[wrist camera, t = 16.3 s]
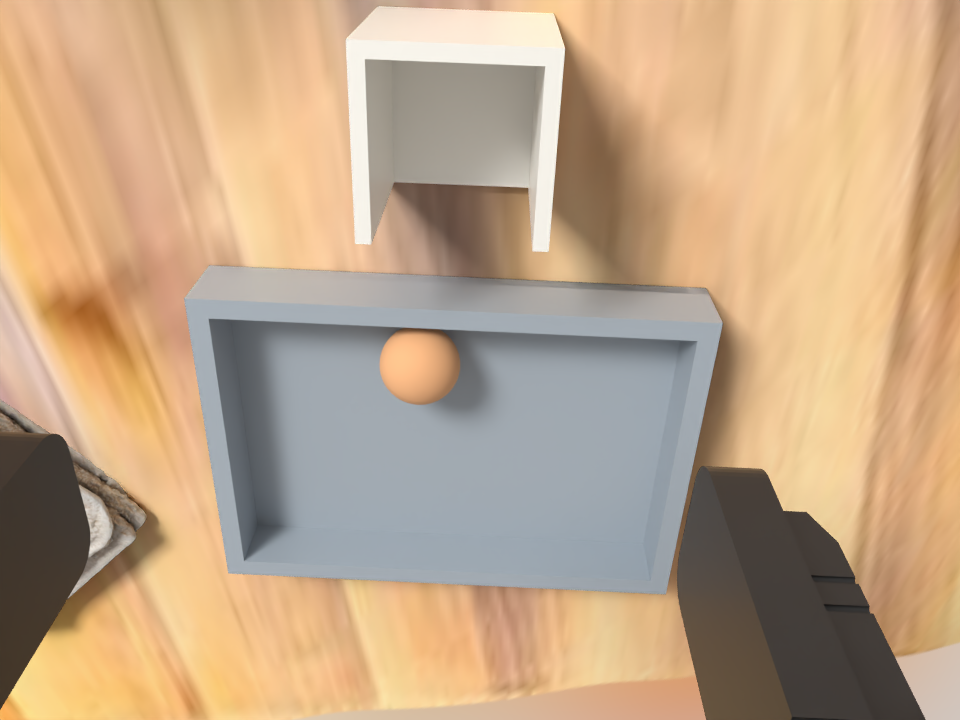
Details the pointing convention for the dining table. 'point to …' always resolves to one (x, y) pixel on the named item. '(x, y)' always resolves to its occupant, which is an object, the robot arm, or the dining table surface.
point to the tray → (452, 427)
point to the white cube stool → (454, 106)
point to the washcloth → (91, 502)
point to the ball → (419, 365)
